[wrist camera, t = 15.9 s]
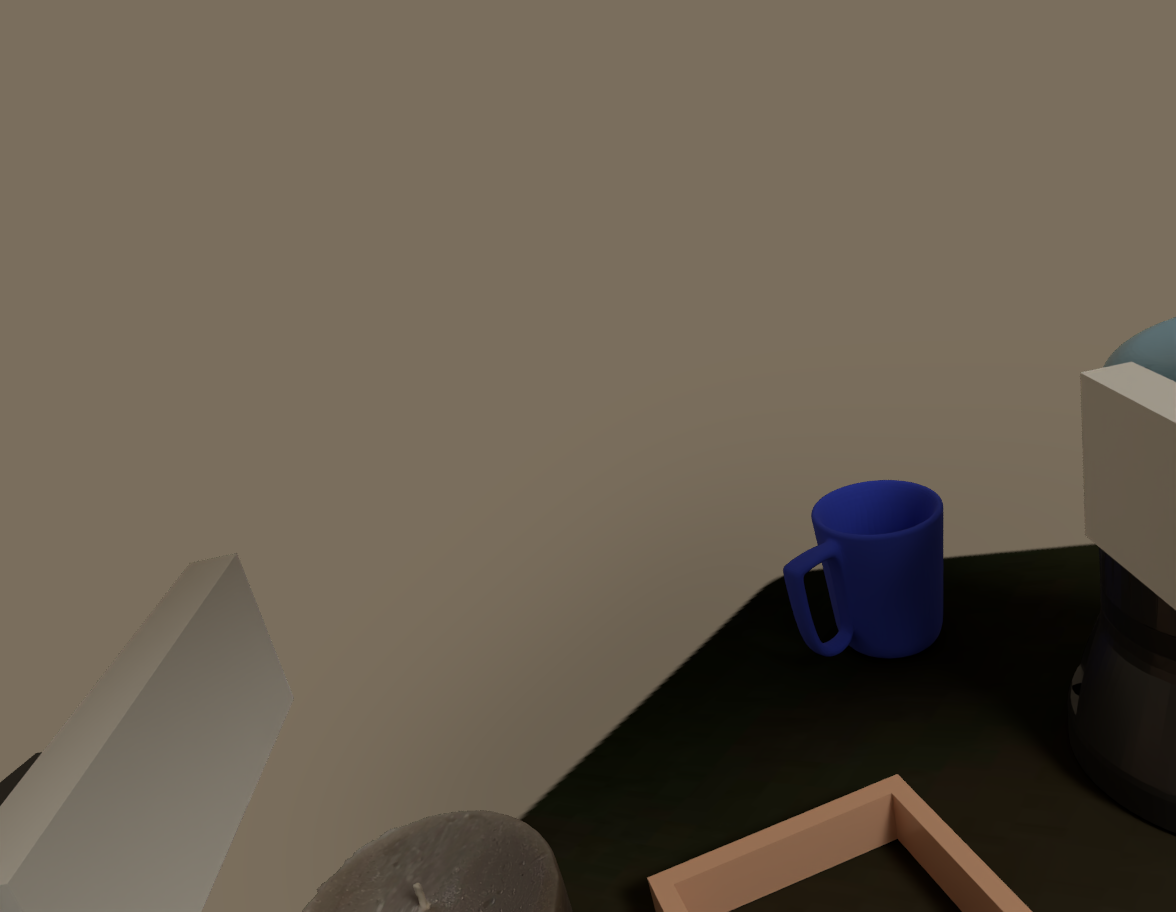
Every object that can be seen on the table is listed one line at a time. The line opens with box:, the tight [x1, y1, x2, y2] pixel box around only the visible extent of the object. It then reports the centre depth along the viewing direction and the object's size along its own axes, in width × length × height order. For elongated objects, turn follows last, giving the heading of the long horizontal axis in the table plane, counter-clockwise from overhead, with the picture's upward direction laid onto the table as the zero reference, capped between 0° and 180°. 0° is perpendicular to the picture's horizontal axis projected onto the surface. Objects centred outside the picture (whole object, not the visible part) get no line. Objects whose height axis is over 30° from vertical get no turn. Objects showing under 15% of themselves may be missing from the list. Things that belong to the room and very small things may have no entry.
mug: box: [783, 480, 943, 658], centre depth 62 cm, size 8×12×10 cm
